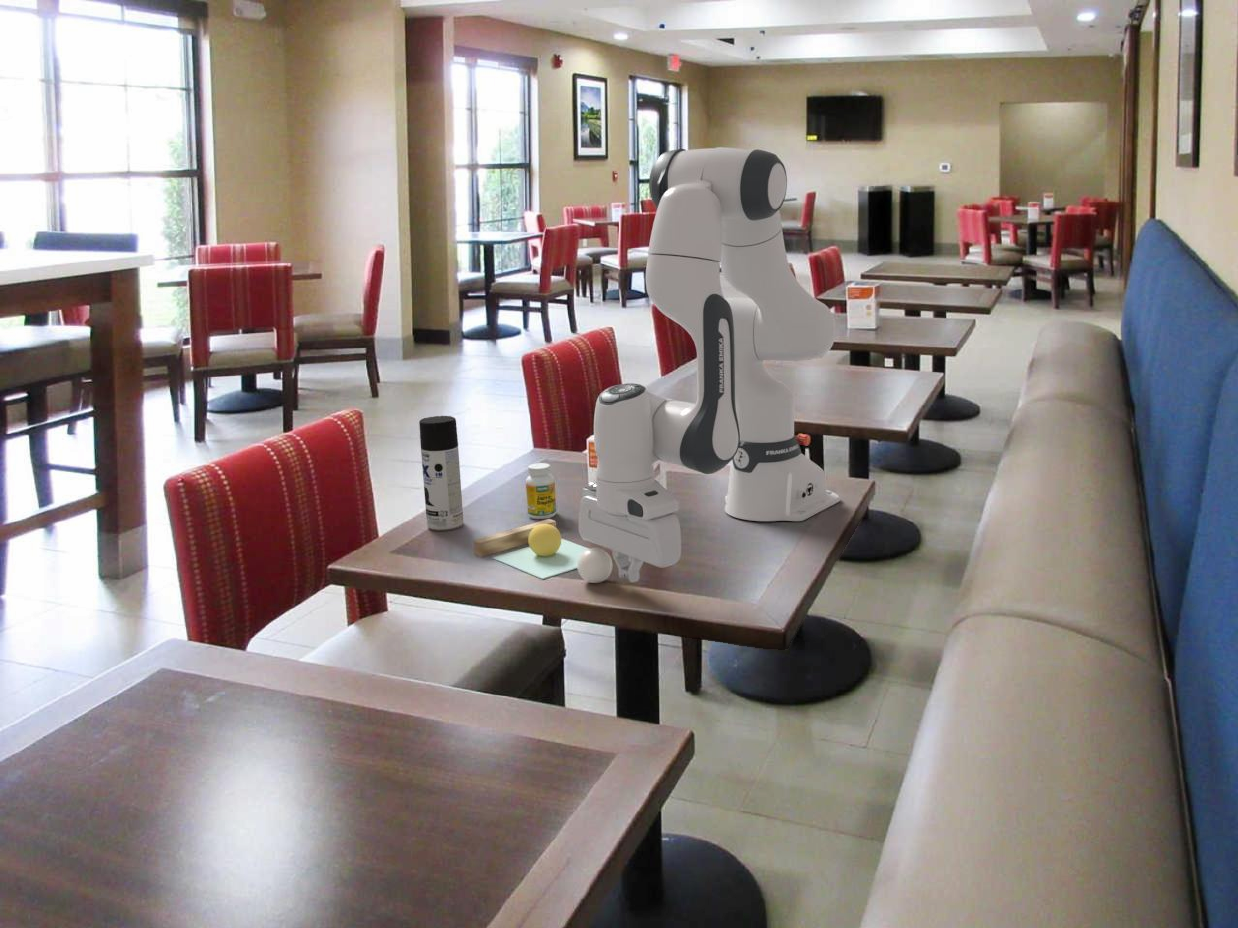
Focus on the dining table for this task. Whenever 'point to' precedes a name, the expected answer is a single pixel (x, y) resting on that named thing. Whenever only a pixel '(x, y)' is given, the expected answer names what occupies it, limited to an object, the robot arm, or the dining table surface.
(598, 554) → the ball
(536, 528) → the ball
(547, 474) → the supplement bottle
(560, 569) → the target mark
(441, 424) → the spray can
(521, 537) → the rail
